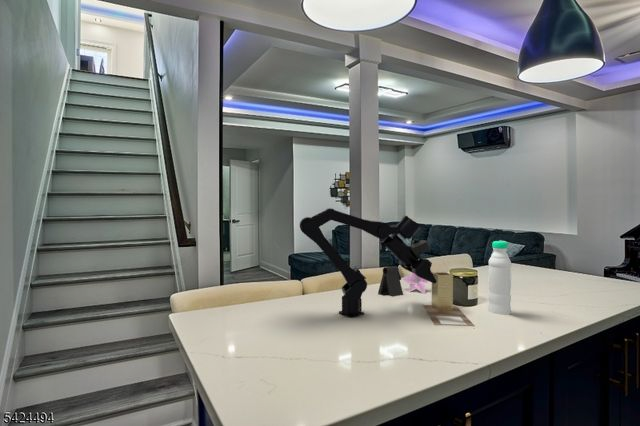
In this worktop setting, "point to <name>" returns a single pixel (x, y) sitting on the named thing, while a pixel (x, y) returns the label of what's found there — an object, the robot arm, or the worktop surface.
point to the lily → (415, 282)
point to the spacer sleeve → (442, 291)
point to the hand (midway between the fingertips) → (430, 279)
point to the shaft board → (448, 317)
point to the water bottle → (499, 279)
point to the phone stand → (390, 282)
